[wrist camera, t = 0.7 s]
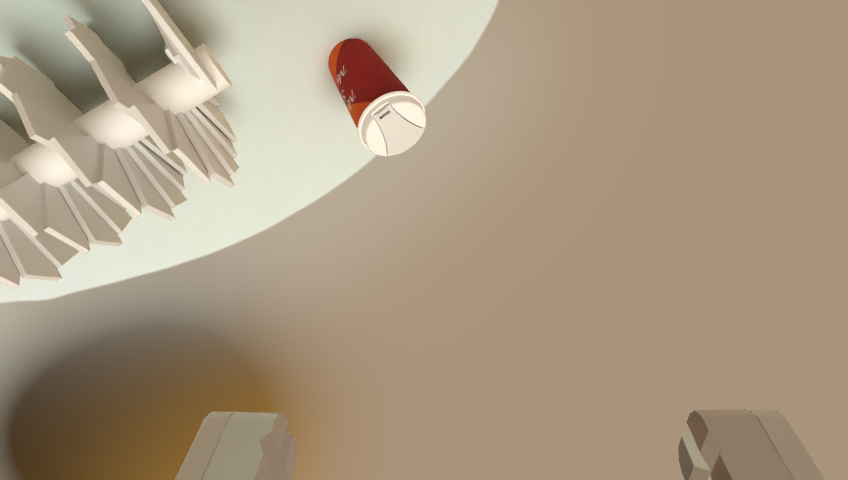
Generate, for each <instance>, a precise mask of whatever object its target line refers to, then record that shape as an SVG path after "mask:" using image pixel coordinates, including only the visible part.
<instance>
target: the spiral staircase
mask: <svg viewBox="0 0 848 480" xmlns="http://www.w3.org/2000/svg"><path fill="white" fill-rule="evenodd" d="M141 1H142V2H143V4H144V5H145V6H146V8H147V9H148V11H149V12H150V14H151V15H152V17H153V19H154V21H155V23H156V25H157V27H158V29H159V31H160V33H161V35H162V37H163V39H164V41H165V52H166V55H167V56H168V58H169V59H170V61H171V62H172V63H170V64H168V65H167V66H165V67H163V68H161V69H160V70H158V71H156V72H155V73H153V74H151V75H150V76H148V77H146V78H145V79H143V80H141V81H139V82H138V83H135V81H134V80H133V79H132V78H131V77H130V75H129V74H128V73H127V72H126V69H125V67H124V64H123V62H122V61H121V60H120V59H119V58H118V57H117V56H116V55H115V54H114V53H113V52H112V51H111V50H110V49H109V48H107V47H106V46H105V45H104V44H103V42H102V41H101V39H100V38H99V36H98V35H97V34H96V33H95V32H93V31H92V30H90V29H89V28H87V27H85V26H84V25H82V24H81V23H79V22H78V21H76V20H75V19H73V18H71V17H70V16H67V17H66V18H64V21H65V22H66V24H67V25H68V27H69V28H70V31H68V32H66V33H65V35H66V36H67V37H68V38H69V40H70V41H71V42H72V43H73V44H74V45H75V46H76V48H77V49H78V50H79V51H80V52H81V53H82V54H83V56H84V57H85V58H86V59H87V60H88V61H89V63H90V64H91V66H92V68H93V70H94V72H95V74H96V75H97V77H98V79H99V81H100V83H101V86H102V87H103V88H104V90H105V92H106V94H107V95H108V97H109V100H107V101H106V102H104V103H102V104H101V105H99V106H97V107H96V108H94V109H92V110H90V111H89V112H87V113H85V114H83V113H82V112H81V111H80V110H79V109H78V108H77V107H76V106H75V105H74V104H73V103H72V102H71V101H70V100H69V99H68V98H67V97H66V96H65V95H64V94H62V93H61V92H60V91H59V90H58V89H57V88H56V87H55V85H54V83H53V81H51V80H50V79H48V78H47V77H46V76H44V75H43V74H41V73H40V72H38V71H37V70H35V69H34V68H32V67H31V66H29V65H28V64H26V63H25V62H23V61H22V60H20V59H19V58H17V57H16V56H13V57H12V58H6V57H2V56H0V92H2V93H3V94H4V95H5V96H6V97H7V98H8V99H10V100H11V101H12V102H13V103H14V104H15V106H16V108H17V110H18V113H19V115H20V117H21V119H22V122H23V124H24V126H25V128H26V131H27V133H28V135H29V138H31V139H33V140H35V141H37V142H36V143H35V144H33V145H30V144H29V143H28V142H27V141H26V140H24V139H23V138H22V137H21V136H20V135H19V134H18V133H16V132H15V131H14V130H13V129H12V128H11V127H10V126H8V125H7V124H6V123H5V122H4V121H3V120H2V119H0V282H2V283H4V284H6V285H8V286H10V287H12V288H16V287H18V286H19V280H20V275H21V277H22V278H31V279H44V280H56V281H58V280H59V279H61V278H62V277H61V275H60V273H59V271H58V269H57V268H58V267H60V266H62V265H63V264H64V263H66V262H67V261H68V260H69V259H71V258H72V257H73V256H74V255H76V254H77V253H78V252H79V251H81V252H83V253H84V254H86V253H87V252H89V251H90V247H89V241H90V243H93V244H102V245H112V246H119V245H121V244H123V243H122V241H121V240H120V238H119V236H118V235H117V234H118V233H120V232H122V231H123V229H124V228H125V227H126V225H127V224H128V223H129V221H130V220H131V219H132V217H131V216H130V215H129V214H128V213H127V212H126V211H125V210H126V209H128V210H129V211H130V212H131V213H132V214H134V215H135V216H136V217H137V216H139V215H140V214H141V205H142V207H143V208H144V209H147V210H149V211H151V212H153V213H155V214H157V215H160V216H162V217H164V218H166V219H168V220H172V219H174V218H175V217H174V215H173V213H172V211H171V209H170V208H173V207H175V206H177V205H179V204H181V203H183V202H184V201H186V200H187V199H186V198H185V197H184V195H183V194H182V193H181V191H182V190H183V189H185V188H184V181H183V175H184V174H186V173H187V171H186V168H185V166H184V164H183V162H184V163H185V164H186V165H187V166H188V167H189V168H190V169H191V170H192V171H193V172H194V173H195V174H196V175H197V176H198V177H199V178H200V179H201V180H202V181H203V182H204V183H205V184H207V183H208V182H210V177H209V174H210V175H211V176H212V177H214V178H216V179H217V180H219V181H220V182H222V183H224V184H225V185H227V186H228V187H232V186H234V183H233V181H232V180H231V178H230V175H232V174H233V173H235V171H236V170H237V169H238V168H239V166H238V165H237V164H236V162H235V161H234V159H233V158H235V157H236V156H237V154H236V152H235V149H234V146H233V144H232V142H234V141H236V140H237V139H236V137H235V135H234V133H233V131H232V129H231V128H230V126H229V124H228V122H227V120H226V118H225V116H224V115H223V113H222V112H221V111H220V110H219V109H218V108H217V107H219V106H221V103H220V102H219V100H218V99H217V97H216V96H215V95H217V94H218V93H220V92H222V91H223V90H225V89H227V88H228V87H230V86H232V84H231V82H230V80H229V78H228V76H227V75H226V73H225V72H224V70H223V69H222V67H221V66H220V64H219V63H218V61H217V60H216V59H215V57H214V56H213V55H212V53H211V52H210V51H209V49H208V48H207V47H206V46H205V45H204V44H202V45H200V46H199V47H197V48H195V49H193V47H192V46H191V45H190V43H189V42H188V41H187V39H186V38H185V37H184V35H183V34H182V33H181V31H180V30H179V29H178V27H177V26H176V24H175V23H174V22H173V20H172V19H171V18H170V16H169V15H168V14H167V12H166V11H165V10H164V8H163V7H162V6H161V4H160V3H159V2H158V0H141ZM182 161H183V162H182ZM207 170H208V171H207ZM208 172H209V174H208ZM182 174H183V175H182ZM88 239H89V240H88ZM78 250H79V251H78Z"/></svg>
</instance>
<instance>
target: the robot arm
mask: <svg viewBox="0 0 848 480" xmlns="http://www.w3.org/2000/svg"><path fill="white" fill-rule="evenodd" d="M687 424H688V426H689V428H690V431H688V432H687V433H685V434H684V435H682V436H681V440H680V443H679V447H678V448H679V462H680V466H681V471H682V474H683V476H684V479H685V480H826V479H825V478H824V476H823V475H822V473H821V472H820V470H819V469H818V467H817V466H816V464H815V462H814V461H813V459H812V458H811V456H810V455H809V453H808V452H807V450H806V449H805V447H804V445H803V444H802V442H801V441H800V439H799V438H798V436H797V435H796V433H795V432H794V430H793V429H792V427H791V426H790V424H789V422H788V421H787V419H786V418H785V416H784V415H783V414H781V413H780V412H779V411H775V410H752V411H747V410H698V411H693V412H692V413H690V415H689V417H688V420H687ZM287 425H288V421H287V419H286V417H285V414H284V413H260V412H259V413H257V412H211V413H210V414H209V415H208V416H207V417H206V418H205V419H204V421H203V423H202V425H201V427H200V429H199V432H198V433H197V435H196V437H195V439H194V441H193V444H192V446H191V448H190V450H189V452H188V454H187V456H186V458H185V460H184V462H183V464H182V466H181V468H180V470H179V473H178V475H177V477H176V479H175V480H292V477H293V473H294V470H295V462H296V461H295V460H296V445H295V441H294V438H293V436H292V435H291V434H289V433H288V432H287V431H286V428H287Z"/></svg>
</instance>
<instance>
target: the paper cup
mask: <svg viewBox="0 0 848 480" xmlns="http://www.w3.org/2000/svg"><path fill="white" fill-rule="evenodd" d="M328 63H329V69H330V72H331V75H332V77H333V79H334V81H335V83H336V86H337V88H338V90H339V92H340V94H341V96H342V98H343V100H344V102H345V104H346V106H347V108H348V111H349V113H350V115H351V117H352V119H353V121H354V123H355V125H356V127H357V131H358V137H359V140H360V142H361V143H362V145H363V146H364V147H366V148H367V149H369V150H370V151H372V152H374V153H376V154H378V155H382V156H391V155H396V154H400V153H402V152H404V151H406V150H408V149H409V148H411V147H412V146H413V145H414V144H415V143H416V142H417V141H418V140H419V138H420V137H421V135H422V133H423V131H424V129H425V125H426V117H425V108H424V105H423V103H422V101H421V100H420V99H419V98H418V97H417V96H416V95H414V94H412V93H410V92H409V90H408V89H407V88H406V87H405V86H404V85H403V84H402V82H401V81H400V80H399V79H398V78H397V77H396V75H395V74H394V73H393V72H392V71H391V70H390V69H389V67H388V66H387V65H386V64H385V63H384V62H383V60H382V59H381V58H380V57H379V56H378V55H377V54H376V53H375V52H374V50H373V49H372V48H371V47H370V46H369V45H368V44H367V43H365V42H364V41H362V40H360V39H347V40H344V41H342V42H340V43H339V44H338V45H336V46H335V48H334V49H333V50H332V52H331V54H330V56H329V62H328Z"/></svg>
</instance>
